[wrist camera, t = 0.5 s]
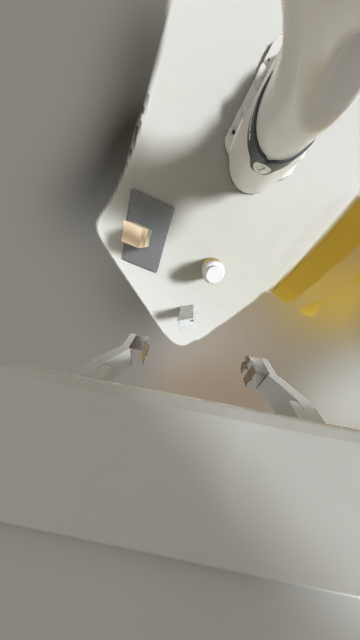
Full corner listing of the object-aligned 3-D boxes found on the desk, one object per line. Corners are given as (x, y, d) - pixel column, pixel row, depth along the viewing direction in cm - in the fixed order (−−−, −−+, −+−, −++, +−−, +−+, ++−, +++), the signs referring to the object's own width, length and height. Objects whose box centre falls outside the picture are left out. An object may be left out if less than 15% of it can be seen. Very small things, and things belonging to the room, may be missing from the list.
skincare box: (182, 315, 60) (179, 331, 50) (180, 306, 58) (176, 320, 48) (196, 313, 59) (195, 328, 48) (194, 303, 57) (193, 318, 46)
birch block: (138, 223, 43) (123, 220, 35) (152, 230, 44) (142, 228, 35) (135, 240, 46) (121, 241, 37) (149, 246, 46) (138, 248, 38)
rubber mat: (132, 189, 40) (131, 188, 39) (173, 208, 41) (173, 208, 40) (123, 258, 50) (122, 258, 49) (156, 272, 51) (156, 272, 51)
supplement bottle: (222, 271, 49) (230, 280, 38) (205, 279, 51) (208, 290, 40) (216, 253, 46) (222, 257, 35) (198, 262, 48) (198, 270, 37)
